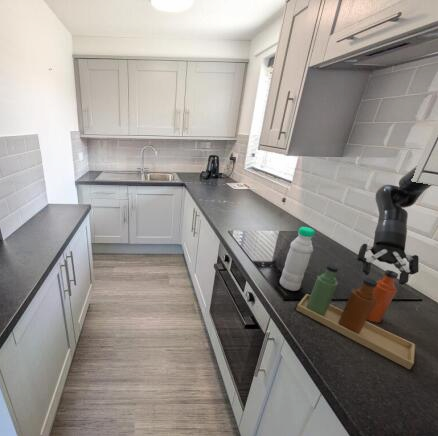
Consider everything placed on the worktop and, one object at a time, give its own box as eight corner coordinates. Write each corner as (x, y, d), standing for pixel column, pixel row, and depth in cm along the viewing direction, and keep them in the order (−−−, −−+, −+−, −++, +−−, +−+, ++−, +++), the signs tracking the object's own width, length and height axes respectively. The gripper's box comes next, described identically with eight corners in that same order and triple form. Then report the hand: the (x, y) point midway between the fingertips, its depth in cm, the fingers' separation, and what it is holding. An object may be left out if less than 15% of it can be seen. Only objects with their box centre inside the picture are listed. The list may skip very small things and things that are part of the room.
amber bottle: (354, 322, 74) (376, 277, 68) (364, 335, 69) (388, 288, 63) (334, 318, 75) (354, 273, 69) (343, 331, 71) (365, 284, 64)
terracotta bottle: (374, 312, 80) (396, 269, 73) (384, 324, 75) (409, 279, 68) (355, 309, 81) (376, 266, 74) (365, 320, 76) (387, 276, 69)
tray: (411, 349, 66) (415, 344, 65) (409, 369, 60) (413, 363, 59) (304, 298, 85) (306, 293, 84) (295, 309, 79) (297, 304, 78)
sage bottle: (321, 306, 81) (338, 263, 74) (328, 317, 76) (347, 273, 69) (304, 303, 82) (319, 260, 75) (309, 314, 77) (327, 269, 70)
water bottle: (280, 278, 96) (296, 223, 87) (300, 284, 92) (319, 228, 83) (277, 286, 91) (295, 229, 81) (298, 294, 87) (319, 234, 78)
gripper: (367, 225, 81) (359, 268, 76) (426, 236, 73) (421, 284, 69) (359, 234, 87) (352, 273, 82) (413, 245, 79) (408, 289, 75)
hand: (383, 278), depth 75 cm, fingers open, 8 cm apart
